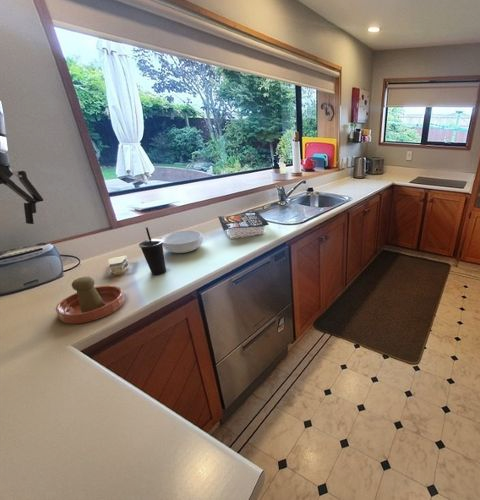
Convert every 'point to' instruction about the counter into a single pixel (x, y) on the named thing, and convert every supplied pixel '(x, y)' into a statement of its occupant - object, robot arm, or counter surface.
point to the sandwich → (118, 264)
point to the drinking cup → (154, 254)
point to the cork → (87, 294)
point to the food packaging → (243, 224)
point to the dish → (72, 311)
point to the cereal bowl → (182, 241)
